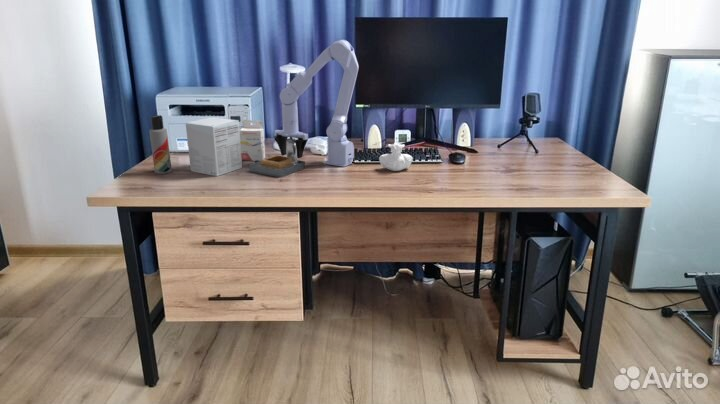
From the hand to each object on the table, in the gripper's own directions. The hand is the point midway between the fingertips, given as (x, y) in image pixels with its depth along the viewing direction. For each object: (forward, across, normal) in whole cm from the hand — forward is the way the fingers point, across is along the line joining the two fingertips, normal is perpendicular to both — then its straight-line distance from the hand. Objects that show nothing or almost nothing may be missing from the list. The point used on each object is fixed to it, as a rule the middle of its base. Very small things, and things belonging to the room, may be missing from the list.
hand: (291, 156), depth 203 cm
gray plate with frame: (+2, +1, -12) cm, 12 cm away
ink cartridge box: (+2, -15, -5) cm, 16 cm away
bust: (+2, +39, +10) cm, 40 cm away
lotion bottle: (+2, -30, -35) cm, 46 cm away
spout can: (+2, 0, 0) cm, 2 cm away
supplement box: (+2, -16, -23) cm, 28 cm away
